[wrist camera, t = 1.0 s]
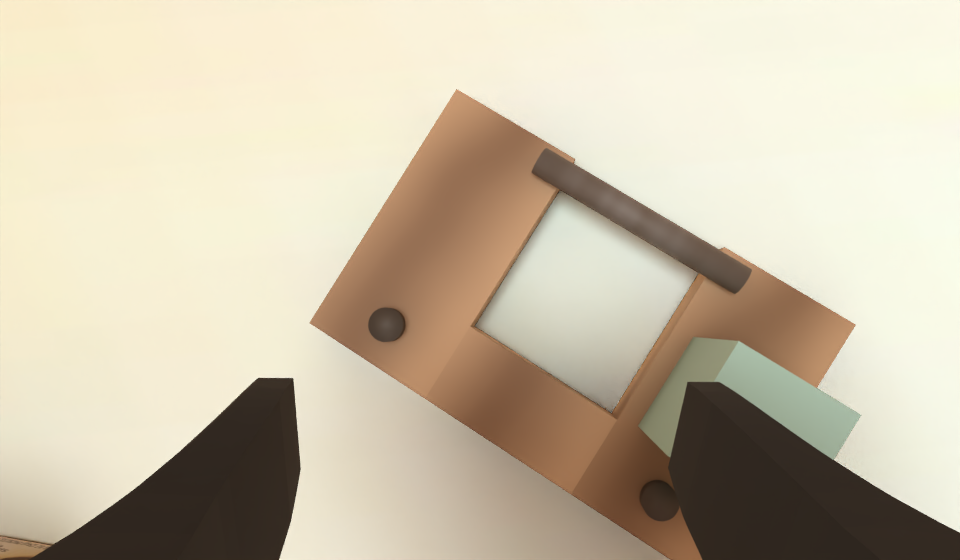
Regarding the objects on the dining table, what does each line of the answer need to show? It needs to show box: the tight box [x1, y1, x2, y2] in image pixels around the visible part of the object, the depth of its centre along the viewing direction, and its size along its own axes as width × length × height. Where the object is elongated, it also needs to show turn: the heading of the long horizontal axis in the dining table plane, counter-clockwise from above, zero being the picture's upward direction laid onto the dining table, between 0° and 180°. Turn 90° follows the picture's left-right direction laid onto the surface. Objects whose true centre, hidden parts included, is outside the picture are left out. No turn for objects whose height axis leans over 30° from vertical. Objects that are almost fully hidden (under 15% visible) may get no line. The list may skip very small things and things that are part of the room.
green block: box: [638, 337, 861, 460], centre depth 20 cm, size 4×4×5 cm
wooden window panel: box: [310, 89, 855, 560], centre depth 23 cm, size 16×10×3 cm, turn 58°
